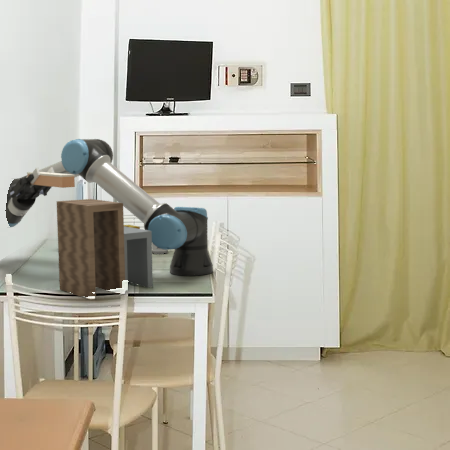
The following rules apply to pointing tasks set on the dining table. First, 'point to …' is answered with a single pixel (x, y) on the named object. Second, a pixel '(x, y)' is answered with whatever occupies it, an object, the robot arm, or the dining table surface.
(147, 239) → the grey bench
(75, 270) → the walnut stand
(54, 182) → the slim box
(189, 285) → the dining table surface
